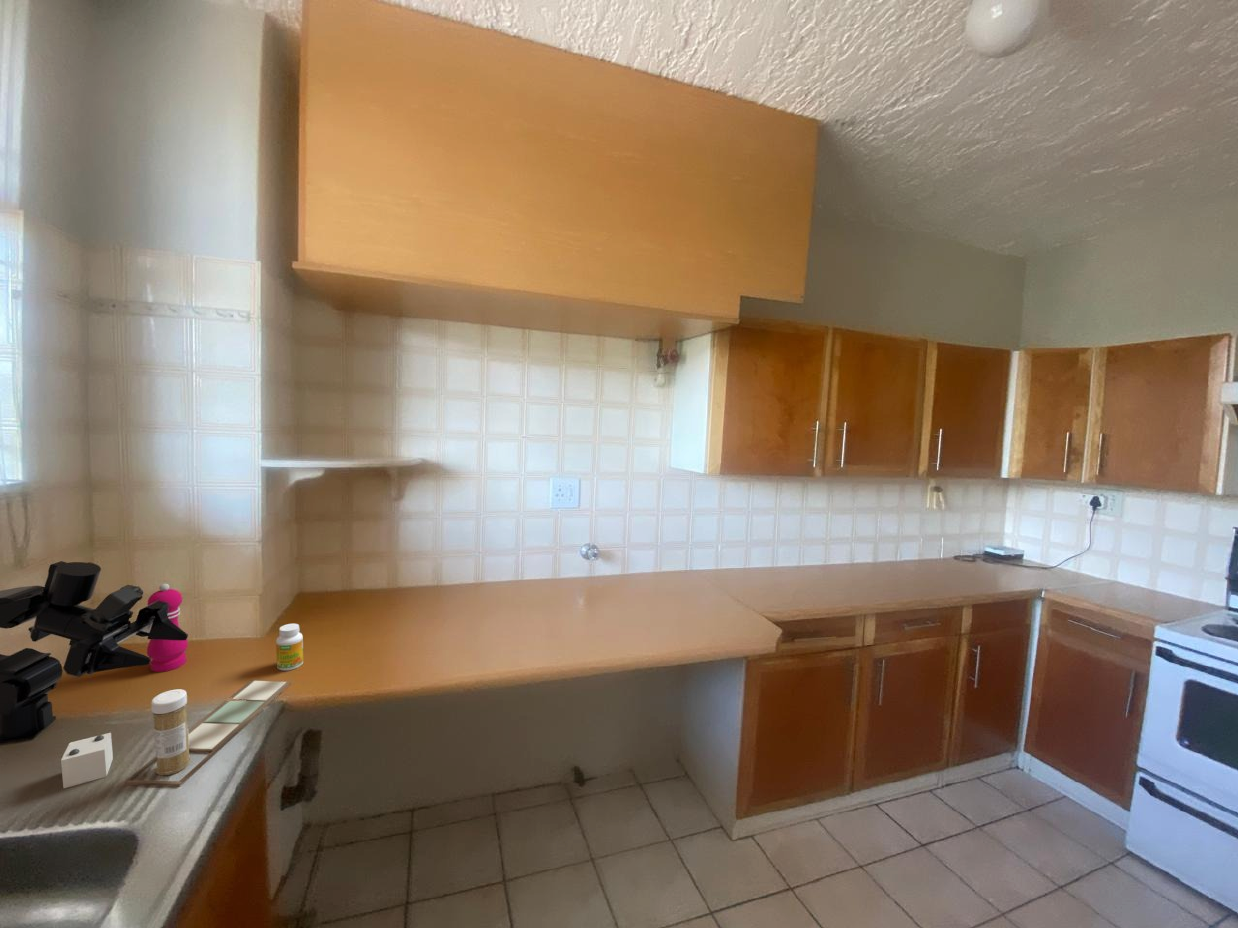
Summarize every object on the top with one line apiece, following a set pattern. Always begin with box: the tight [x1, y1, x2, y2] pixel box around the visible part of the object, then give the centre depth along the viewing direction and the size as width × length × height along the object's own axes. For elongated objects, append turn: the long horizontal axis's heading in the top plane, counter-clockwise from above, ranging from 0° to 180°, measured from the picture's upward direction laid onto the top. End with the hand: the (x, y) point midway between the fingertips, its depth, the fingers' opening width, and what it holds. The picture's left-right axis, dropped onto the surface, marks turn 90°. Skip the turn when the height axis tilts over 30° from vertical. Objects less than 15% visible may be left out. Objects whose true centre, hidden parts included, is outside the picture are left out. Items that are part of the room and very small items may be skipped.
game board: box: [123, 680, 293, 787], centre depth 99 cm, size 9×30×1 cm, turn 2°
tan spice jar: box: [150, 688, 191, 776], centre depth 87 cm, size 5×5×14 cm
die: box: [60, 732, 114, 789], centre depth 85 cm, size 5×5×6 cm
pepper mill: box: [146, 583, 189, 673], centre depth 118 cm, size 7×7×20 cm
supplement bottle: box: [275, 623, 304, 672], centre depth 121 cm, size 5×5×10 cm
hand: (169, 648), depth 96 cm, fingers open, 9 cm apart
